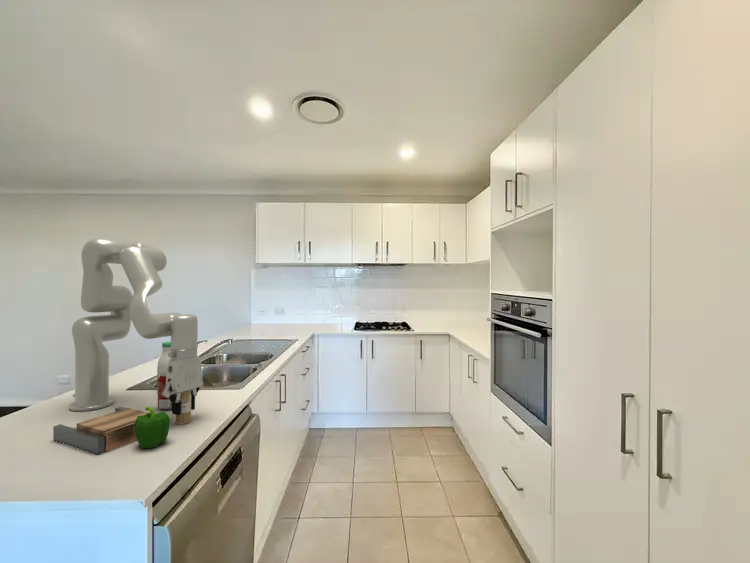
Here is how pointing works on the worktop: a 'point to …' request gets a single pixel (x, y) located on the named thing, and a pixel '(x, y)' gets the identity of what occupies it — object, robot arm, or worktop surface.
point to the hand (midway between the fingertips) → (183, 411)
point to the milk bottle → (163, 360)
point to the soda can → (162, 401)
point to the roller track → (95, 437)
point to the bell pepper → (151, 428)
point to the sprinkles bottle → (184, 408)
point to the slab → (110, 421)
